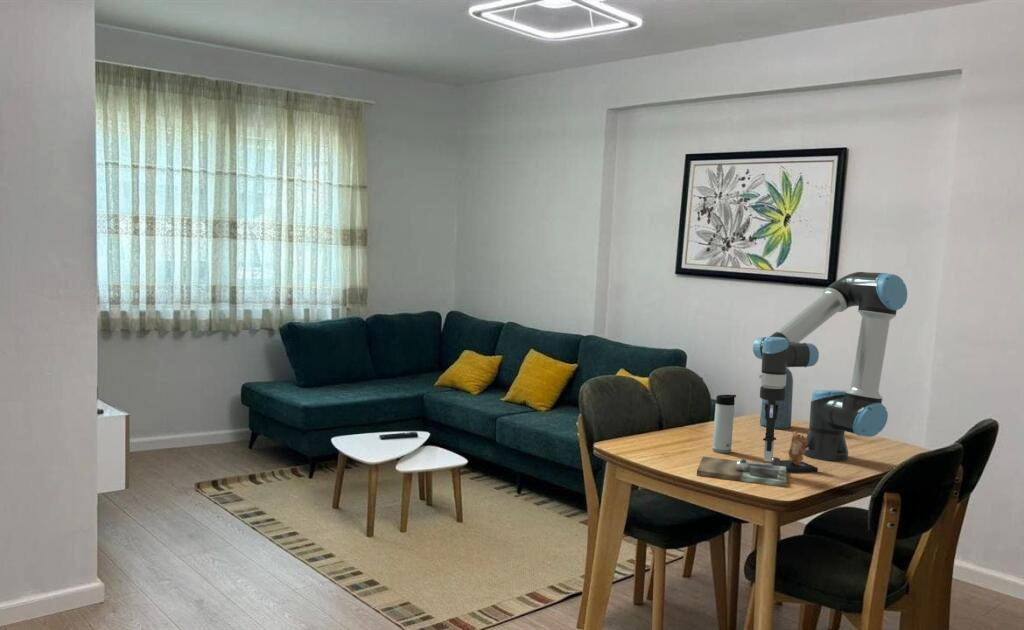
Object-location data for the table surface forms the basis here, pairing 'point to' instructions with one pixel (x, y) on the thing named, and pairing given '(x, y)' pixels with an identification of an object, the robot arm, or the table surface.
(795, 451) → the figurine
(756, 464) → the bar
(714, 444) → the travel mug
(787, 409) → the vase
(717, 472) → the door board
